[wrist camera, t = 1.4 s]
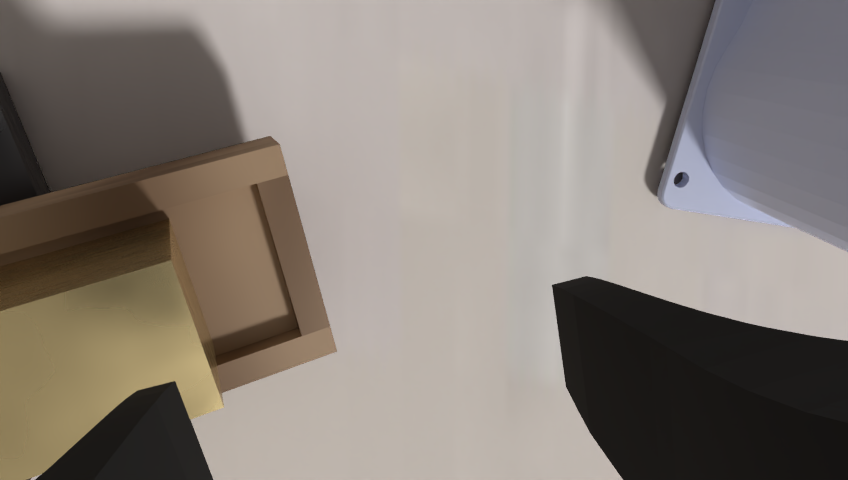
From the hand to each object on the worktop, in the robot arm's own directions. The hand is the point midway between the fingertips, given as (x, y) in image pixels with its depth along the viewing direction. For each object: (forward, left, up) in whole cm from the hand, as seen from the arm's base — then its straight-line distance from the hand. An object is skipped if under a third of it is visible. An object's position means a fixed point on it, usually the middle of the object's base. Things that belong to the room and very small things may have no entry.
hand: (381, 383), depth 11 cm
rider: (+3, -7, -6) cm, 10 cm away
